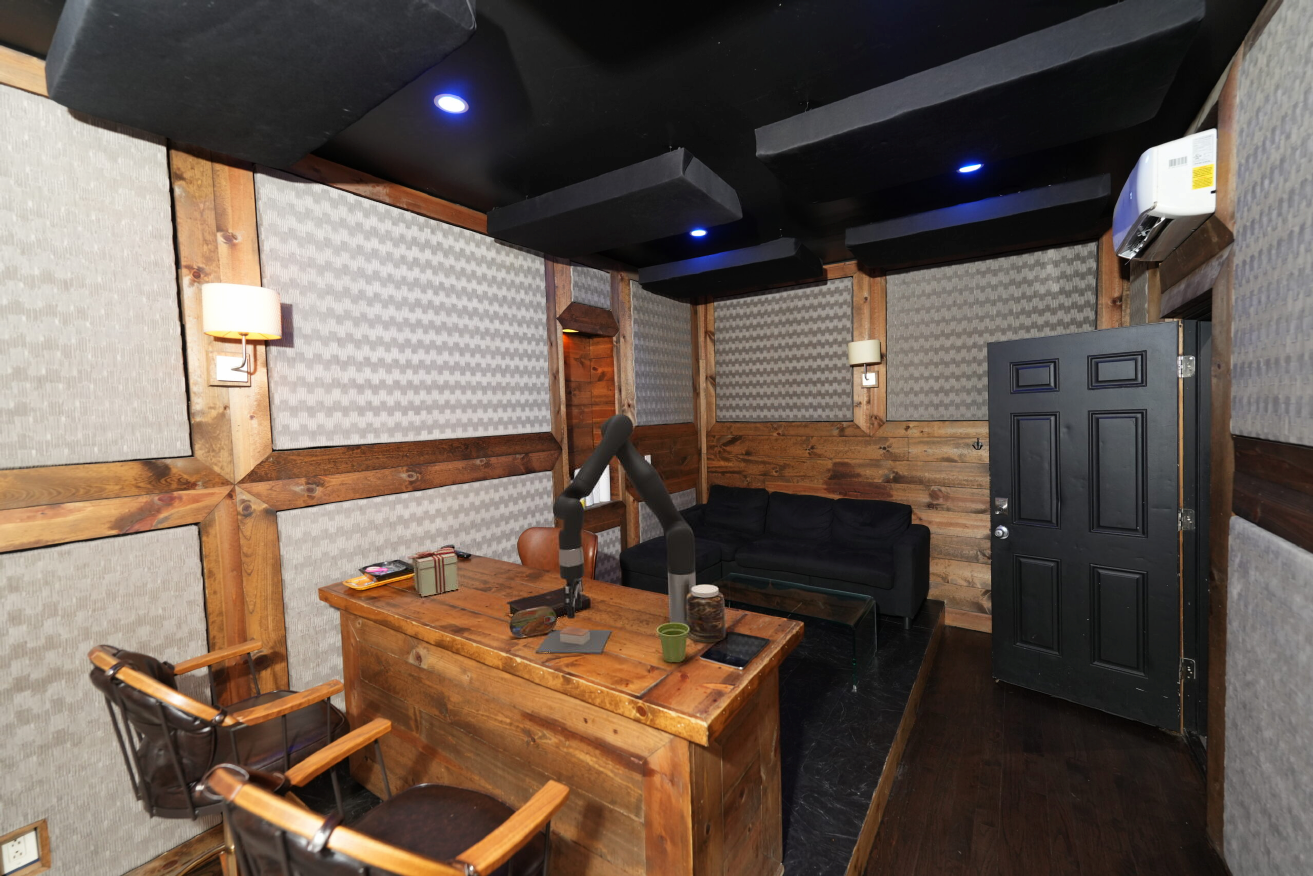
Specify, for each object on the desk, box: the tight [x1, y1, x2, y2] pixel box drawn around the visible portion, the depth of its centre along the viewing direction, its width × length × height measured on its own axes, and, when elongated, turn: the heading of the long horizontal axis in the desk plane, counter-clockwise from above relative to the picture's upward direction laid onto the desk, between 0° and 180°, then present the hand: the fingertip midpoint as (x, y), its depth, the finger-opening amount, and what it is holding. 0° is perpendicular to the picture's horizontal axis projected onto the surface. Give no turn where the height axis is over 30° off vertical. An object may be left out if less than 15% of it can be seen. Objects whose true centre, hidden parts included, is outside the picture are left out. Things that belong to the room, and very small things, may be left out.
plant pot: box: [656, 622, 689, 664], centre depth 152 cm, size 9×9×9 cm
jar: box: [687, 584, 727, 644], centre depth 167 cm, size 12×12×15 cm
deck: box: [560, 626, 591, 645], centre depth 166 cm, size 4×8×3 cm, turn 68°
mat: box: [535, 629, 612, 655], centre depth 166 cm, size 20×16×1 cm
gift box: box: [407, 546, 459, 596], centre depth 224 cm, size 17×18×17 cm
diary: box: [505, 587, 592, 619], centre depth 194 cm, size 19×25×5 cm
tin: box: [508, 606, 558, 639], centre depth 173 cm, size 15×3×8 cm, turn 106°
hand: (574, 612), depth 165 cm, fingers open, 8 cm apart
